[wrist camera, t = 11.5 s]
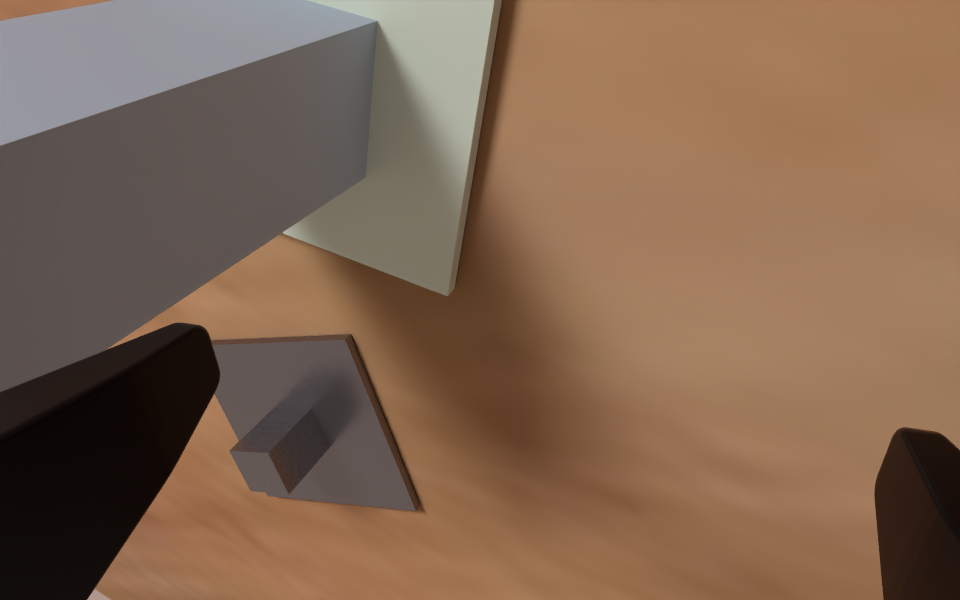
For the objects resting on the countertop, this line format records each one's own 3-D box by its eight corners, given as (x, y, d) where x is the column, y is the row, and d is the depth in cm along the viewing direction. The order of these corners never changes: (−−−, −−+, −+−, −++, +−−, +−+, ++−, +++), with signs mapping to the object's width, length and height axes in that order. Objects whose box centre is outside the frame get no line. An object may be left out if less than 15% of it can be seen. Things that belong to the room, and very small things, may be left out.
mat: (518, -97, 18) (509, -97, 17) (454, 288, 24) (447, 296, 24) (143, -182, 20) (127, -183, 20) (180, 184, 27) (169, 190, 27)
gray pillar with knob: (377, 20, 20) (-147, 194, 9) (365, 177, 23) (-46, 449, 12) (234, -22, 21) (-381, 88, 10) (240, 132, 24) (-236, 345, 13)
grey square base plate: (350, 334, 28) (300, 383, 25) (420, 504, 31) (382, 563, 29) (195, 341, 32) (138, 383, 29) (272, 490, 36) (228, 540, 33)
